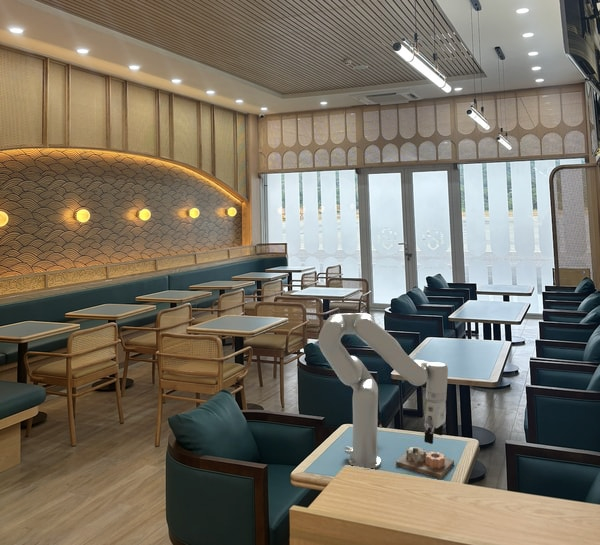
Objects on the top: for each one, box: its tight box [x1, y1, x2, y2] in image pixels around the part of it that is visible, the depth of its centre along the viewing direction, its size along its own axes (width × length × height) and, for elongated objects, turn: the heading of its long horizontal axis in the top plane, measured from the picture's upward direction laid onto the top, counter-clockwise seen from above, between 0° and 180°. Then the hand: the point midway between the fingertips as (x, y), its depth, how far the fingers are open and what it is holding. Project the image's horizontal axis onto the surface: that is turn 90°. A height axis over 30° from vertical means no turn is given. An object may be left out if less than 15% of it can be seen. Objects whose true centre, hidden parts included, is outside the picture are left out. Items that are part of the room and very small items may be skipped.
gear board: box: [395, 446, 455, 479], centre depth 203 cm, size 18×14×6 cm
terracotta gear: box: [426, 450, 446, 468], centre depth 201 cm, size 7×7×3 cm
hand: (433, 438), depth 200 cm, fingers open, 9 cm apart
